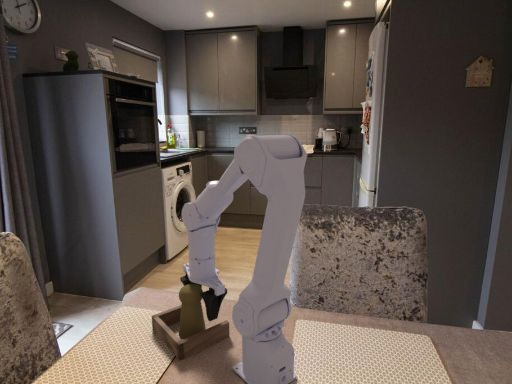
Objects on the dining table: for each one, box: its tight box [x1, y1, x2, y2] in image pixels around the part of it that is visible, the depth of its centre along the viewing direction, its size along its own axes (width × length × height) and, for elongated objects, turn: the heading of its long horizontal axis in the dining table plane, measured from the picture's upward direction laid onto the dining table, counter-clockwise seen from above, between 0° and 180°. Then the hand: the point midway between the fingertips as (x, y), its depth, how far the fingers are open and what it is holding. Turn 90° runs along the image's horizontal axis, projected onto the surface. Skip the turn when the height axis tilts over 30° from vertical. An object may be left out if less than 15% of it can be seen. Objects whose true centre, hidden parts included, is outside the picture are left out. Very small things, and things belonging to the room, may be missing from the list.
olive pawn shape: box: [178, 284, 207, 340], centre depth 74 cm, size 6×6×11 cm
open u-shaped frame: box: [151, 304, 230, 361], centre depth 74 cm, size 13×12×4 cm
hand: (203, 311), depth 76 cm, fingers open, 7 cm apart
